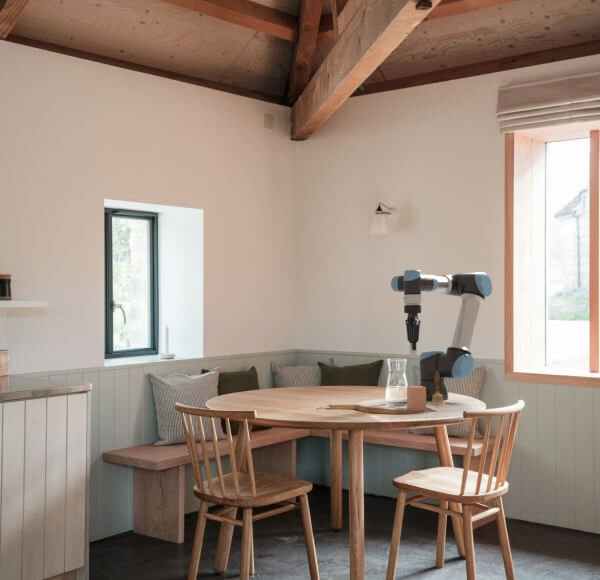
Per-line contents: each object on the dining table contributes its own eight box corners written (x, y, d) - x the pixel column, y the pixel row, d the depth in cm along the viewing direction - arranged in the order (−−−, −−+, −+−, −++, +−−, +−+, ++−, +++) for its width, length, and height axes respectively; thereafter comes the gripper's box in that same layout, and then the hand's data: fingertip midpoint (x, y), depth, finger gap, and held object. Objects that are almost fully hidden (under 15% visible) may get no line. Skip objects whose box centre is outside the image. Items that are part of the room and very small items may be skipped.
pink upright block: (420, 408, 337) (420, 385, 337) (426, 410, 331) (425, 387, 331) (407, 409, 336) (406, 386, 336) (412, 411, 330) (411, 387, 330)
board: (426, 410, 342) (426, 407, 342) (438, 415, 328) (438, 411, 328) (395, 411, 339) (395, 408, 339) (406, 416, 325) (406, 412, 325)
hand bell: (432, 408, 348) (432, 372, 348) (425, 406, 356) (425, 370, 356) (450, 408, 349) (449, 372, 349) (443, 405, 357) (442, 370, 358)
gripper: (399, 304, 357) (400, 356, 357) (409, 304, 345) (410, 358, 344) (415, 304, 359) (415, 356, 359) (425, 304, 346) (426, 358, 346)
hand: (413, 357), depth 351 cm, fingers closed
